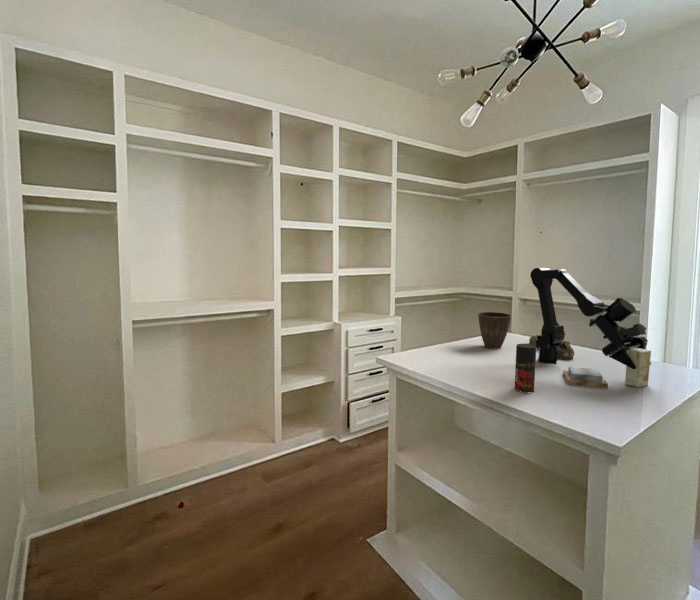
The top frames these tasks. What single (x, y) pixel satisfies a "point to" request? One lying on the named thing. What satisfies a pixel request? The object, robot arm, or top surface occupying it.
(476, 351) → the top surface
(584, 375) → the brown picture frame
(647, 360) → the skincare box
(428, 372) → the top surface
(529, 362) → the deodorant
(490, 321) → the plant pot
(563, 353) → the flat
